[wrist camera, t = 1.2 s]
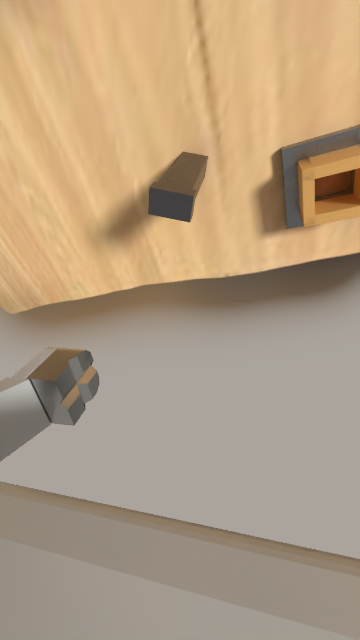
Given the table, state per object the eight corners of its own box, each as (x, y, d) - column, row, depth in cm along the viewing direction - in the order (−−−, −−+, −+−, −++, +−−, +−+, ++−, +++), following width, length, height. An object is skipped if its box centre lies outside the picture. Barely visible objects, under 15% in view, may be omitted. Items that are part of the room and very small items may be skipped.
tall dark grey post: (177, 171, 46) (148, 214, 33) (180, 151, 44) (149, 187, 31) (207, 177, 46) (190, 222, 33) (211, 157, 44) (193, 196, 31)
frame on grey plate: (286, 224, 48) (290, 242, 44) (281, 147, 41) (284, 158, 36) (374, 206, 44) (389, 224, 39) (385, 117, 37) (405, 124, 32)
